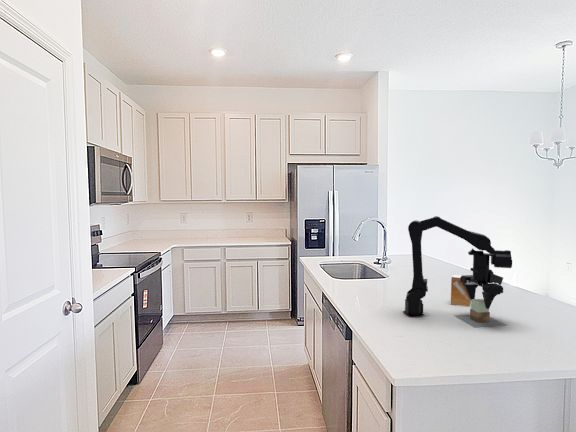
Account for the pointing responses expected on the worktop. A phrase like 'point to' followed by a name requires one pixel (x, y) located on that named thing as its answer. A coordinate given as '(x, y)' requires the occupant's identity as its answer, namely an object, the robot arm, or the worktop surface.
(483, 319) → the walnut block
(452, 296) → the small box
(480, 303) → the sage block
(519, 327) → the worktop surface
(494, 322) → the slate mat
